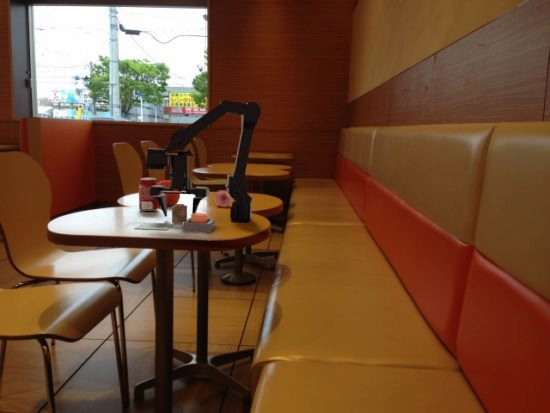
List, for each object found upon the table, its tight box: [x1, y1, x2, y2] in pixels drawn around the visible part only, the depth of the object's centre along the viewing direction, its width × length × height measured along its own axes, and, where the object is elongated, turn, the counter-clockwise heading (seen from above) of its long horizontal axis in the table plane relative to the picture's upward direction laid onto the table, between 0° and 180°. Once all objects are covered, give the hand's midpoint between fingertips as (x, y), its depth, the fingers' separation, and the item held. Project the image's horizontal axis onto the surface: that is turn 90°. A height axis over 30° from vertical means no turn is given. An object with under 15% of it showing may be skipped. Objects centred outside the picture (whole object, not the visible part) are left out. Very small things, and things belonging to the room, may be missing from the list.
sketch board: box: [133, 222, 176, 231], centre depth 140 cm, size 10×9×1 cm
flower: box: [213, 189, 234, 208], centre depth 182 cm, size 8×8×6 cm
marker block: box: [171, 203, 188, 223], centre depth 149 cm, size 4×4×6 cm
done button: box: [190, 212, 209, 223], centre depth 138 cm, size 5×5×3 cm
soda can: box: [138, 177, 159, 212], centre depth 166 cm, size 7×7×12 cm
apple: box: [157, 179, 181, 207], centre depth 179 cm, size 10×10×10 cm
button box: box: [182, 217, 216, 233], centre depth 138 cm, size 8×8×2 cm
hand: (179, 217), depth 150 cm, fingers open, 9 cm apart
